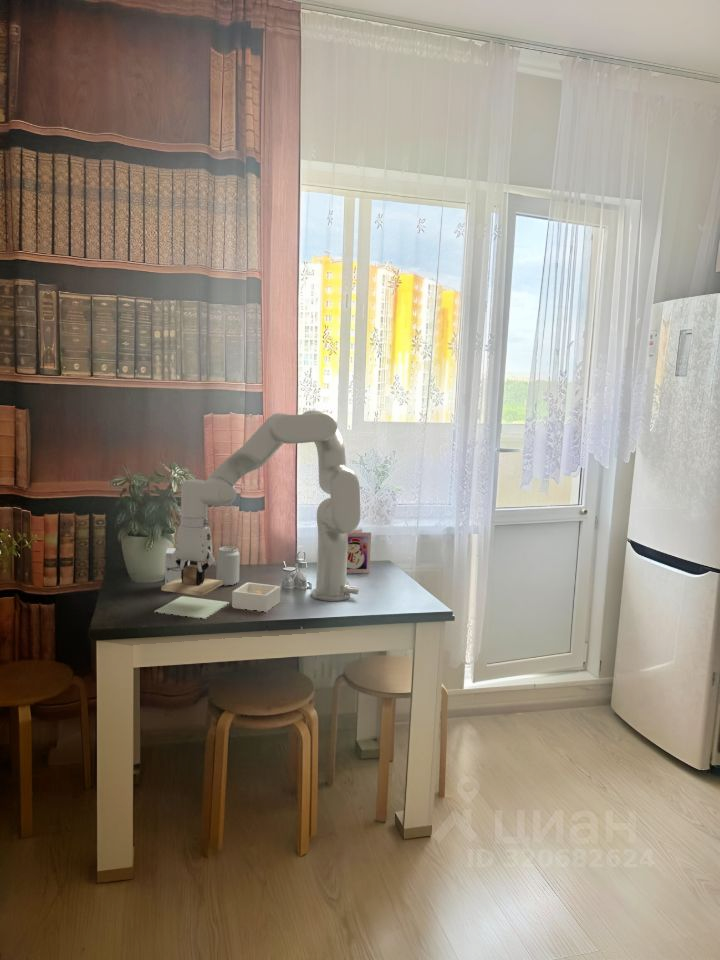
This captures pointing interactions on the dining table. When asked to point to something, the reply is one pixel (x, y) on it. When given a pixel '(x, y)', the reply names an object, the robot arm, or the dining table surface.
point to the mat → (192, 607)
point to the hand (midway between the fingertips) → (192, 582)
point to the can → (228, 565)
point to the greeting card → (358, 552)
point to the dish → (256, 597)
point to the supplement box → (171, 567)
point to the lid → (191, 583)
